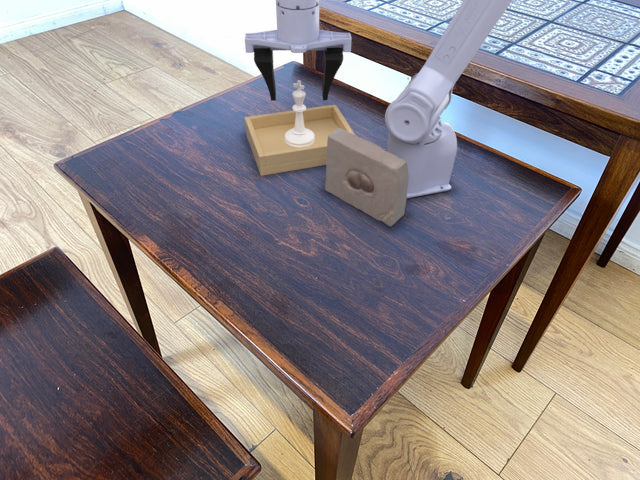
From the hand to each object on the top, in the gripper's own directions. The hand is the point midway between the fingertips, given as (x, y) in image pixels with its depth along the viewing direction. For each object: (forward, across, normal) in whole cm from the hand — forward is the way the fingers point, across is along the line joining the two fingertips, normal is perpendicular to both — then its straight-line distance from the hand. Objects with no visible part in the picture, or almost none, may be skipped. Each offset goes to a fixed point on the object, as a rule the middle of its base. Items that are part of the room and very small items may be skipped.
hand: (299, 97), depth 75 cm
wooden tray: (+9, 0, 0) cm, 9 cm away
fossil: (+9, +9, -14) cm, 19 cm away
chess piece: (+8, 0, 0) cm, 8 cm away
